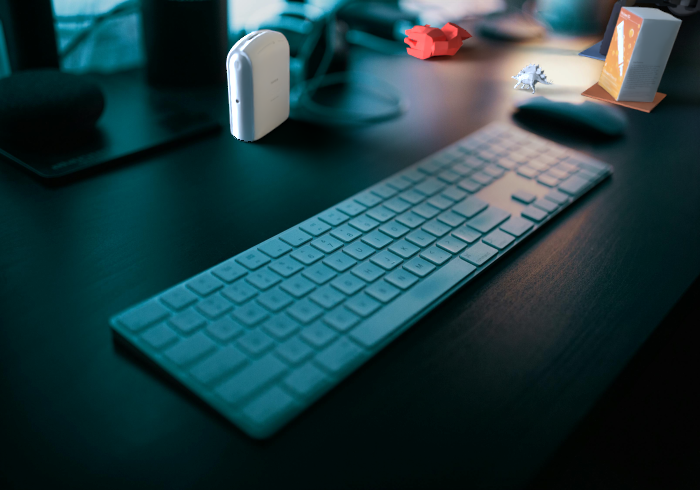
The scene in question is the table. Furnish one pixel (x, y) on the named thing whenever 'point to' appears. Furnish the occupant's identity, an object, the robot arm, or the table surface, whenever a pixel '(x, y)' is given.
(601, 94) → the terracotta mat
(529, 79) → the stegosaurus
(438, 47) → the animal figurine
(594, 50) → the slate mat
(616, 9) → the two-way radio
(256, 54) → the photo printer
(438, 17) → the table surface
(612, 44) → the small box
